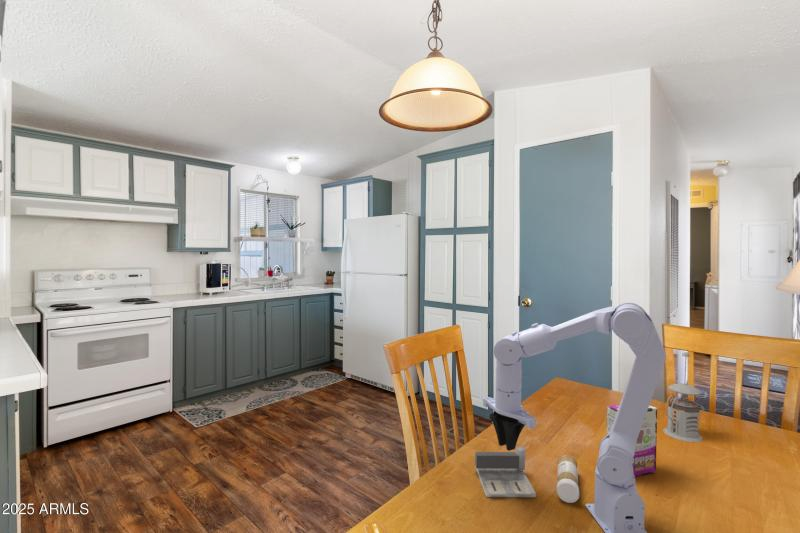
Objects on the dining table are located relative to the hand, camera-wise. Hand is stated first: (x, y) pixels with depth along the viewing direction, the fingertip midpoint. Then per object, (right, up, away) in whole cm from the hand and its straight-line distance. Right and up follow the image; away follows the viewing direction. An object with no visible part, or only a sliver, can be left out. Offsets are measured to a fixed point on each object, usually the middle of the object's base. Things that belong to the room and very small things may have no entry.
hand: (507, 446), depth 93 cm
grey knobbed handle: (0, -8, +6) cm, 10 cm away
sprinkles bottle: (+17, -7, +7) cm, 20 cm away
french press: (+60, -9, +28) cm, 67 cm away
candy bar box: (+33, -10, +8) cm, 35 cm away
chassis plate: (0, -9, +2) cm, 10 cm away
